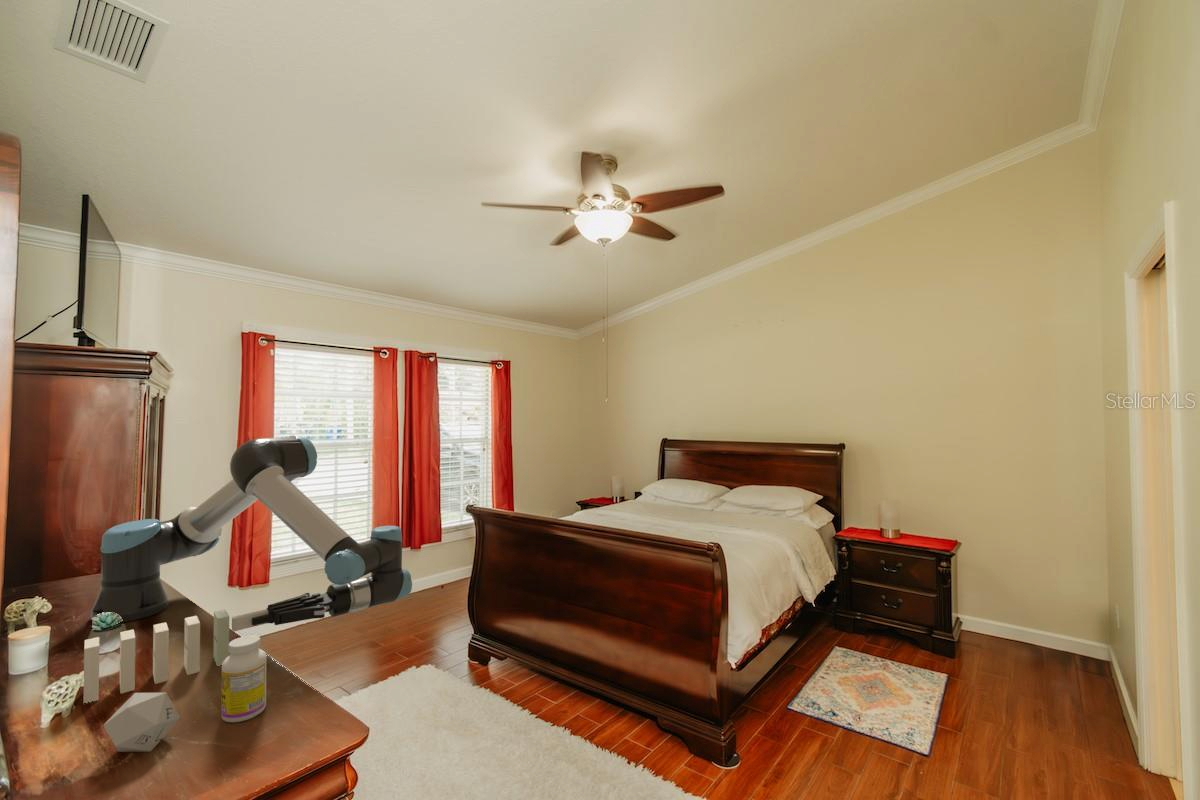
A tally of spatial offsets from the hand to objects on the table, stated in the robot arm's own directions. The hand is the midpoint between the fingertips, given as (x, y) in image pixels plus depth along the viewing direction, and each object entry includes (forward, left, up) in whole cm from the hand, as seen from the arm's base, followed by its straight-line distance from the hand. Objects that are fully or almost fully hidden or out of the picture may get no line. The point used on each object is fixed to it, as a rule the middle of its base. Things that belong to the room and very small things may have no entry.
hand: (232, 624), depth 114 cm
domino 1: (+7, -21, -7) cm, 23 cm away
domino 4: (0, -2, -7) cm, 8 cm away
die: (+29, -6, -8) cm, 31 cm away
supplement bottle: (+25, +7, -8) cm, 27 cm away
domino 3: (+2, -7, -7) cm, 10 cm away
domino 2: (+5, -16, -7) cm, 18 cm away
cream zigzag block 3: (+4, -11, -7) cm, 14 cm away
